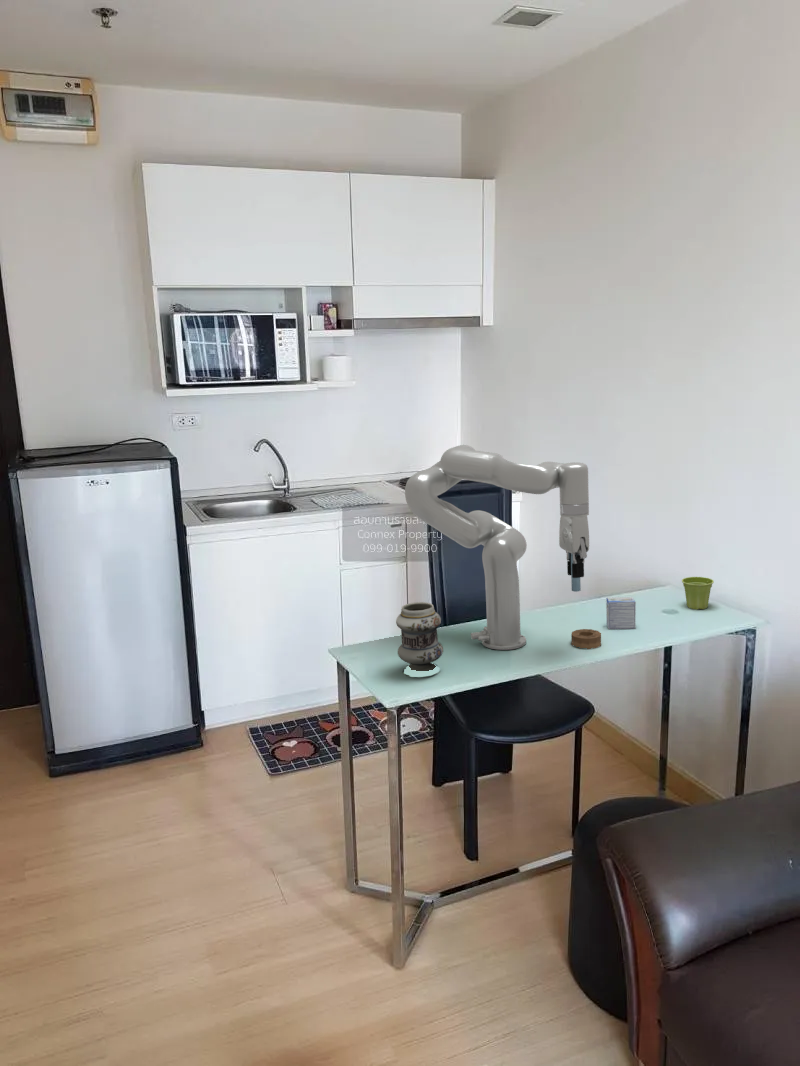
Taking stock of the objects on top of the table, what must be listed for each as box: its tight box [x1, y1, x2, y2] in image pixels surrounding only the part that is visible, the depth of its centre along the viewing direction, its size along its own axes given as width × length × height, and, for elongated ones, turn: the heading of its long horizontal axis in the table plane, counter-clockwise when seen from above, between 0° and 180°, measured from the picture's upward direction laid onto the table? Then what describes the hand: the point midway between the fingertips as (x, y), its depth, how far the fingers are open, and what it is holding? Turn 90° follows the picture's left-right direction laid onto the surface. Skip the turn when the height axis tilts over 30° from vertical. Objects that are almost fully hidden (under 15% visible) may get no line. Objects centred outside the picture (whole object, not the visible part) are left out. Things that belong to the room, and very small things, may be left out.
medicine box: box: [605, 596, 637, 630], centre depth 240 cm, size 8×4×9 cm, turn 84°
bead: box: [570, 628, 602, 650], centre depth 228 cm, size 8×8×3 cm
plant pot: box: [681, 576, 714, 610], centre depth 255 cm, size 9×9×9 cm
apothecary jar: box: [395, 601, 444, 671], centre depth 213 cm, size 12×12×18 cm
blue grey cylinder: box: [570, 550, 582, 593], centre depth 220 cm, size 2×2×12 cm
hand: (575, 575), depth 220 cm, fingers closed on blue grey cylinder, 2 cm apart
